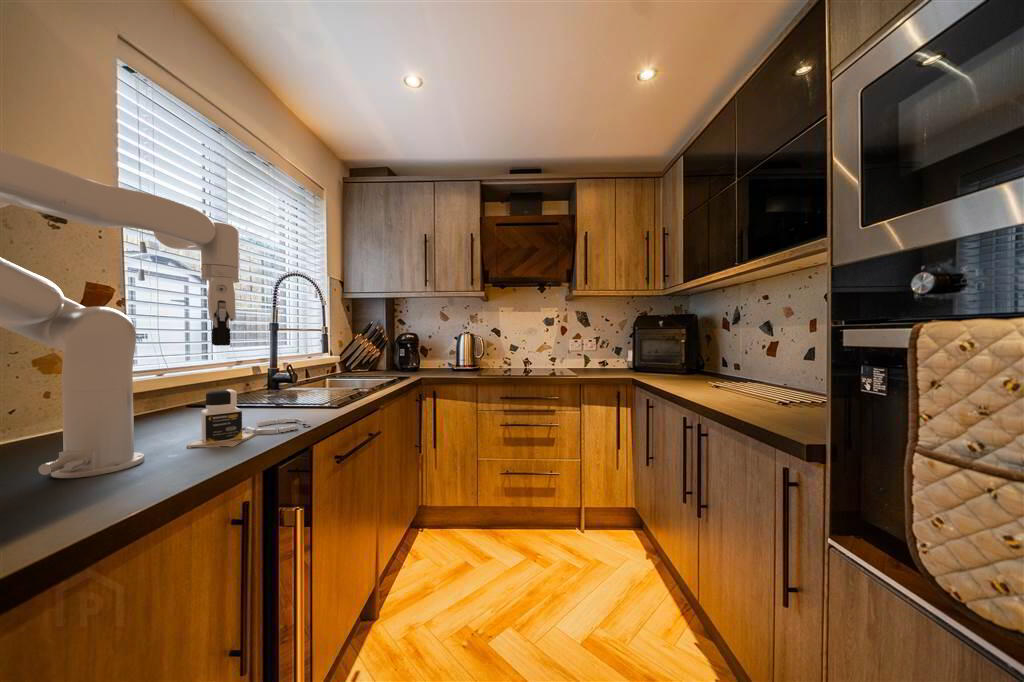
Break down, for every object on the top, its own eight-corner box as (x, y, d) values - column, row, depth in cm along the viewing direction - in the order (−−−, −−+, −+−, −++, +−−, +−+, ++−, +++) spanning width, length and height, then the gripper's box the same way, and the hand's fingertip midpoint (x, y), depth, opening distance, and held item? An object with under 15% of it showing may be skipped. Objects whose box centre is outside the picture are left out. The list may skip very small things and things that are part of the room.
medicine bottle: (205, 444, 90) (205, 393, 90) (201, 438, 95) (200, 390, 95) (242, 438, 95) (242, 389, 95) (236, 433, 100) (236, 387, 100)
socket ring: (300, 432, 104) (300, 428, 104) (229, 435, 101) (229, 430, 101) (317, 421, 118) (317, 417, 118) (255, 423, 115) (255, 419, 115)
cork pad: (234, 446, 91) (234, 443, 91) (186, 448, 90) (186, 445, 90) (255, 435, 101) (255, 432, 101) (212, 437, 100) (212, 434, 100)
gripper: (242, 271, 91) (242, 345, 91) (236, 280, 104) (236, 344, 104) (201, 268, 86) (201, 345, 86) (200, 277, 99) (200, 344, 99)
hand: (220, 345), depth 95 cm, fingers open, 9 cm apart
